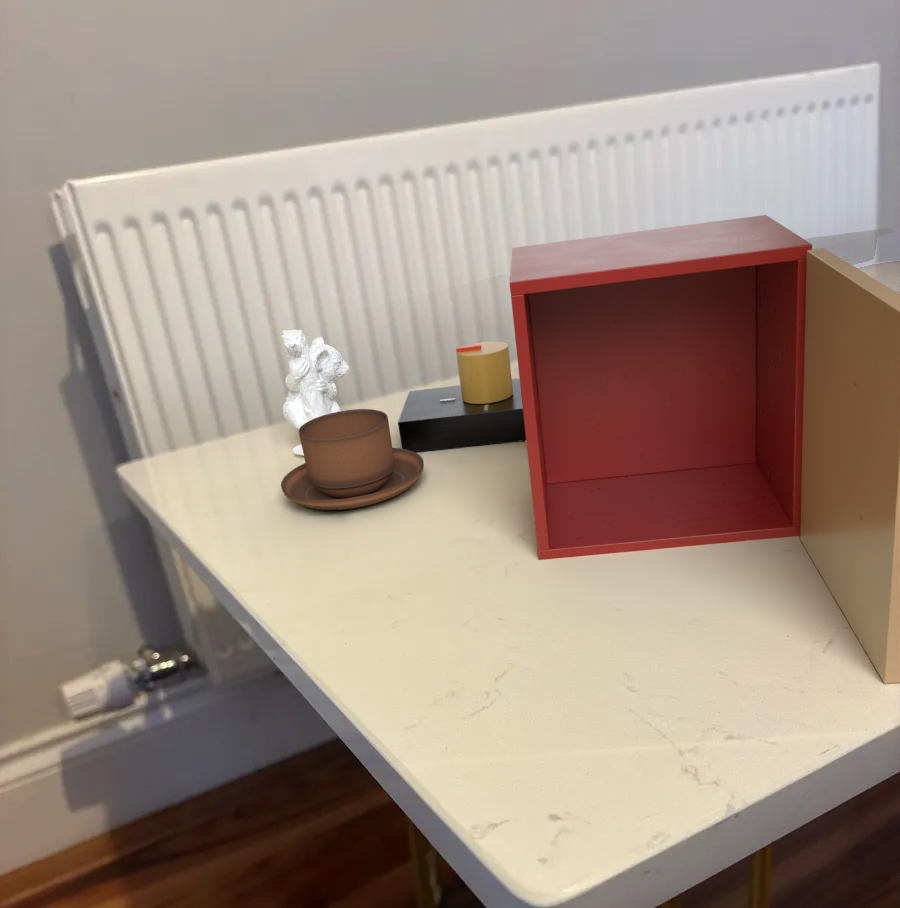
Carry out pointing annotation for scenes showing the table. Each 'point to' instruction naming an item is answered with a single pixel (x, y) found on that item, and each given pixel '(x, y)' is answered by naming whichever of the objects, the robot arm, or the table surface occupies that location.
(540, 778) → the table surface
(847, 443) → the cabinet door
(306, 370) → the white sculpted figure
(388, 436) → the cup and saucer
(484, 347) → the valve knob
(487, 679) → the table surface
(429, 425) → the valve panel
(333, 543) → the table surface
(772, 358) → the cabinet
